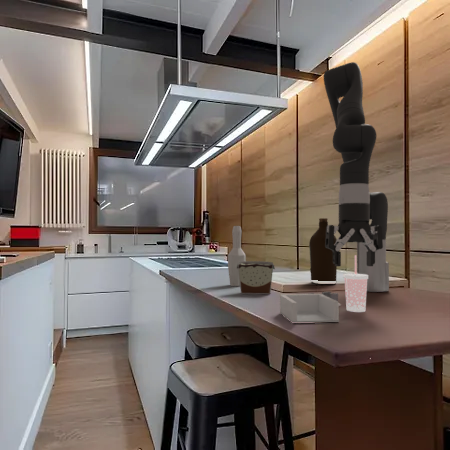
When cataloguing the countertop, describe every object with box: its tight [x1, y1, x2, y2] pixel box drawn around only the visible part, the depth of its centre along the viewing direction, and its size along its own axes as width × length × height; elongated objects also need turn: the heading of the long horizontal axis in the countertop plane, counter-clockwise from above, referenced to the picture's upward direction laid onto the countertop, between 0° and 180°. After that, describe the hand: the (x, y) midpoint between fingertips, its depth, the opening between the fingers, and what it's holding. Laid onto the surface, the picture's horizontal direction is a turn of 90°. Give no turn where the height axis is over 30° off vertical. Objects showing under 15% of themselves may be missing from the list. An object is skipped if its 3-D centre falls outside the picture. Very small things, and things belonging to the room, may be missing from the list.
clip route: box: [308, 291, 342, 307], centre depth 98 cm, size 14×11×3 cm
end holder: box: [279, 293, 340, 323], centre depth 86 cm, size 10×10×5 cm
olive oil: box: [308, 217, 338, 282], centre depth 144 cm, size 11×11×25 cm
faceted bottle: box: [227, 225, 247, 287], centre depth 138 cm, size 6×6×22 cm
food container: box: [236, 260, 276, 295], centre depth 122 cm, size 12×6×10 cm, turn 84°
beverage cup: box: [342, 254, 368, 313], centre depth 95 cm, size 6×6×14 cm
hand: (353, 266), depth 95 cm, fingers open, 8 cm apart
